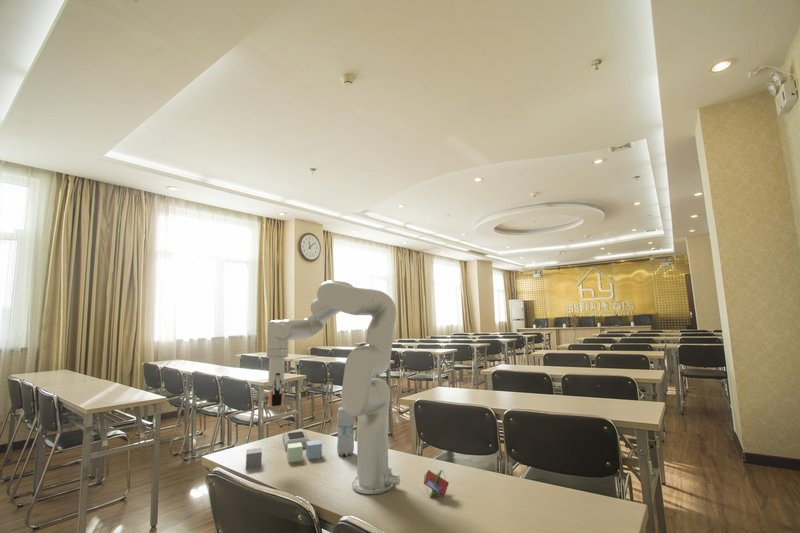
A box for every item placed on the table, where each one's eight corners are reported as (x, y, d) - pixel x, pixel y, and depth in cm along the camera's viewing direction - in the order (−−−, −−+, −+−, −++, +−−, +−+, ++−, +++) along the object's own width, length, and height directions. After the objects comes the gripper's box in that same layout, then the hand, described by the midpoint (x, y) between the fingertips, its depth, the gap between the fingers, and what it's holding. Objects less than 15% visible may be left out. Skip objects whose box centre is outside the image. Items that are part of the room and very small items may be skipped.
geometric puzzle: (457, 485, 107) (441, 459, 110) (449, 495, 101) (432, 467, 104) (439, 497, 109) (423, 472, 112) (430, 508, 103) (414, 480, 106)
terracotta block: (282, 402, 139) (282, 389, 140) (283, 405, 134) (283, 391, 135) (268, 404, 137) (268, 390, 138) (269, 407, 133) (269, 392, 133)
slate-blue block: (319, 453, 141) (319, 439, 142) (321, 458, 137) (321, 443, 137) (306, 455, 140) (306, 441, 140) (307, 460, 135) (308, 445, 136)
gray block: (260, 462, 134) (261, 447, 134) (261, 467, 129) (261, 452, 130) (246, 464, 132) (246, 449, 132) (245, 469, 127) (246, 454, 128)
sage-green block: (300, 456, 139) (301, 442, 140) (302, 460, 134) (302, 446, 135) (286, 458, 137) (287, 444, 138) (288, 463, 132) (288, 448, 133)
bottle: (335, 452, 142) (335, 398, 145) (352, 450, 144) (352, 396, 147) (337, 458, 136) (338, 401, 138) (356, 456, 138) (356, 400, 140)
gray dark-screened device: (305, 428, 162) (310, 438, 149) (305, 437, 162) (310, 448, 148) (282, 431, 159) (285, 442, 145) (282, 440, 158) (285, 452, 145)
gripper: (266, 352, 145) (264, 400, 142) (267, 355, 129) (266, 410, 127) (285, 351, 148) (284, 398, 145) (290, 354, 132) (288, 407, 129)
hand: (276, 403), depth 136 cm, fingers closed on terracotta block, 4 cm apart
